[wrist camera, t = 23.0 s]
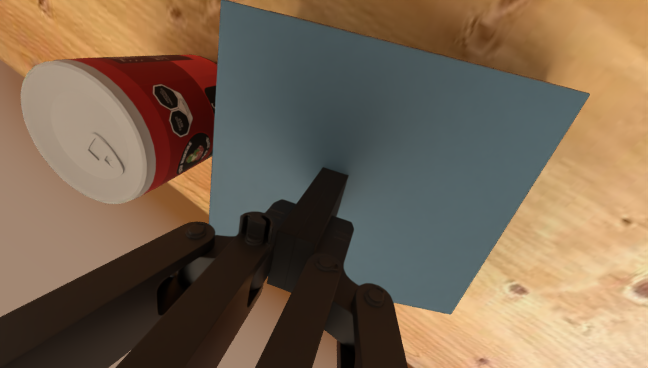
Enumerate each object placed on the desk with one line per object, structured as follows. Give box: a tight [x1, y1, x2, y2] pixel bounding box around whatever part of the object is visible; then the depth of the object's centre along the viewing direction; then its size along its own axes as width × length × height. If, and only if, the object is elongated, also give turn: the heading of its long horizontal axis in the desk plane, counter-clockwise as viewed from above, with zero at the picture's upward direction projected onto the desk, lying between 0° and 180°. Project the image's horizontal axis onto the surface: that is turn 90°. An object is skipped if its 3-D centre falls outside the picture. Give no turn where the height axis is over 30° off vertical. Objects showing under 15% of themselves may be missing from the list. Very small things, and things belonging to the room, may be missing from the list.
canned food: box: [21, 55, 217, 204], centre depth 21 cm, size 8×8×11 cm
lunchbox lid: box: [209, 0, 590, 314], centre depth 18 cm, size 18×16×1 cm
